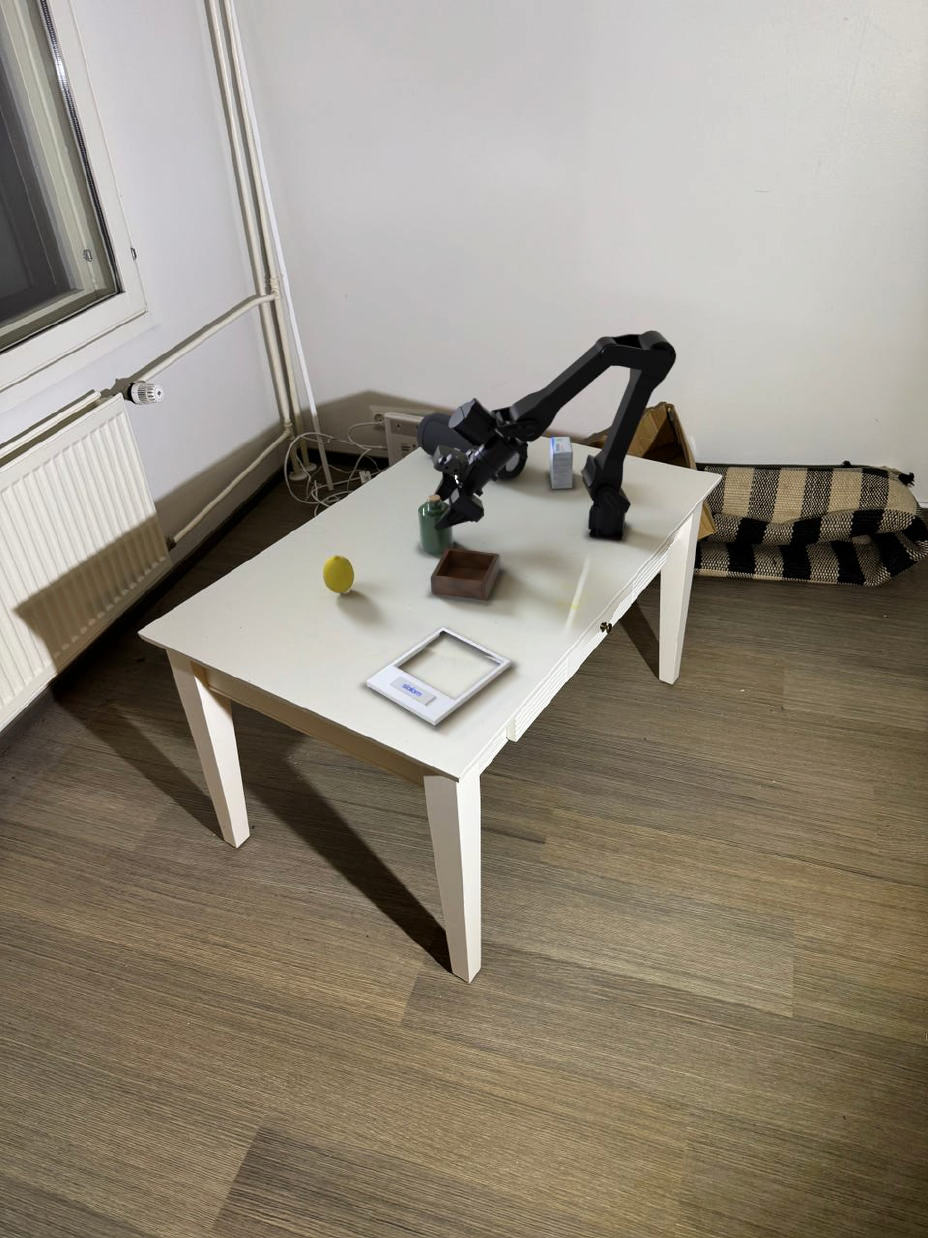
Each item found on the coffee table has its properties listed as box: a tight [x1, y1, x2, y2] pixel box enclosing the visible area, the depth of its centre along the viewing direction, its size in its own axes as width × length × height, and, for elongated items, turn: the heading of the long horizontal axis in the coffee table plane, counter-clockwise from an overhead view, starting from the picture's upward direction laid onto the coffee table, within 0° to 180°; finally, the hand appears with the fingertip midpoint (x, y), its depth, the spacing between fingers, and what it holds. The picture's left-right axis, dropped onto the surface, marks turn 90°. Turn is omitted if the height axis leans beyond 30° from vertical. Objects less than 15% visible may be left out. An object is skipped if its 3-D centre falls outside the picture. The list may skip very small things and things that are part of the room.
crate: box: [430, 547, 501, 601], centre depth 159 cm, size 10×10×4 cm
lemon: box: [322, 555, 355, 594], centre depth 157 cm, size 6×6×8 cm
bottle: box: [417, 494, 454, 555], centre depth 168 cm, size 6×6×11 cm
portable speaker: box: [416, 412, 528, 481], centre depth 196 cm, size 26×10×10 cm, turn 50°
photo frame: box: [366, 626, 511, 726], centre depth 139 cm, size 15×1×18 cm
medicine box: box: [549, 436, 574, 490], centre depth 189 cm, size 8×4×9 cm, turn 179°
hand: (433, 517), depth 167 cm, fingers open, 9 cm apart
